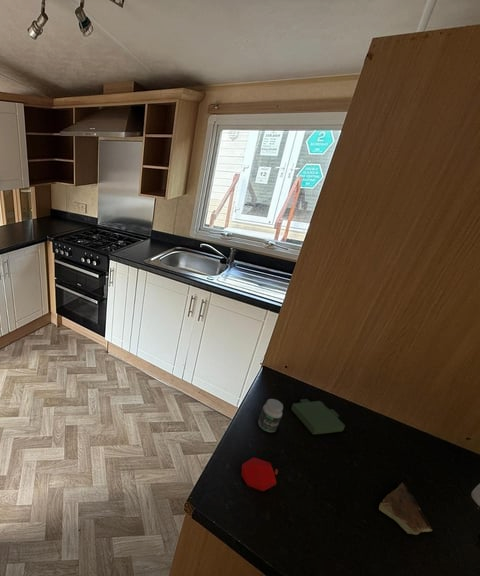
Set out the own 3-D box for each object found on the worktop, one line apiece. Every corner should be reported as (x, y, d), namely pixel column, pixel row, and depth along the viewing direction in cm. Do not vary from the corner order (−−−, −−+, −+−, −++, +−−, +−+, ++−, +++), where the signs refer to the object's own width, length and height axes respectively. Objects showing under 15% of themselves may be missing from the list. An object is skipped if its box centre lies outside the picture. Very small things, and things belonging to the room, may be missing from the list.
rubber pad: (318, 402, 96) (320, 397, 95) (346, 430, 86) (349, 425, 85) (288, 405, 94) (290, 400, 93) (313, 434, 85) (315, 429, 84)
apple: (240, 474, 70) (279, 472, 67) (235, 452, 76) (271, 449, 73) (247, 499, 71) (286, 499, 68) (242, 475, 77) (277, 474, 75)
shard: (400, 485, 73) (404, 480, 72) (444, 517, 67) (448, 513, 66) (375, 507, 69) (378, 502, 68) (419, 543, 63) (423, 538, 62)
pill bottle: (258, 429, 87) (265, 407, 83) (257, 416, 91) (264, 395, 87) (277, 435, 85) (285, 413, 81) (275, 422, 89) (283, 400, 85)
